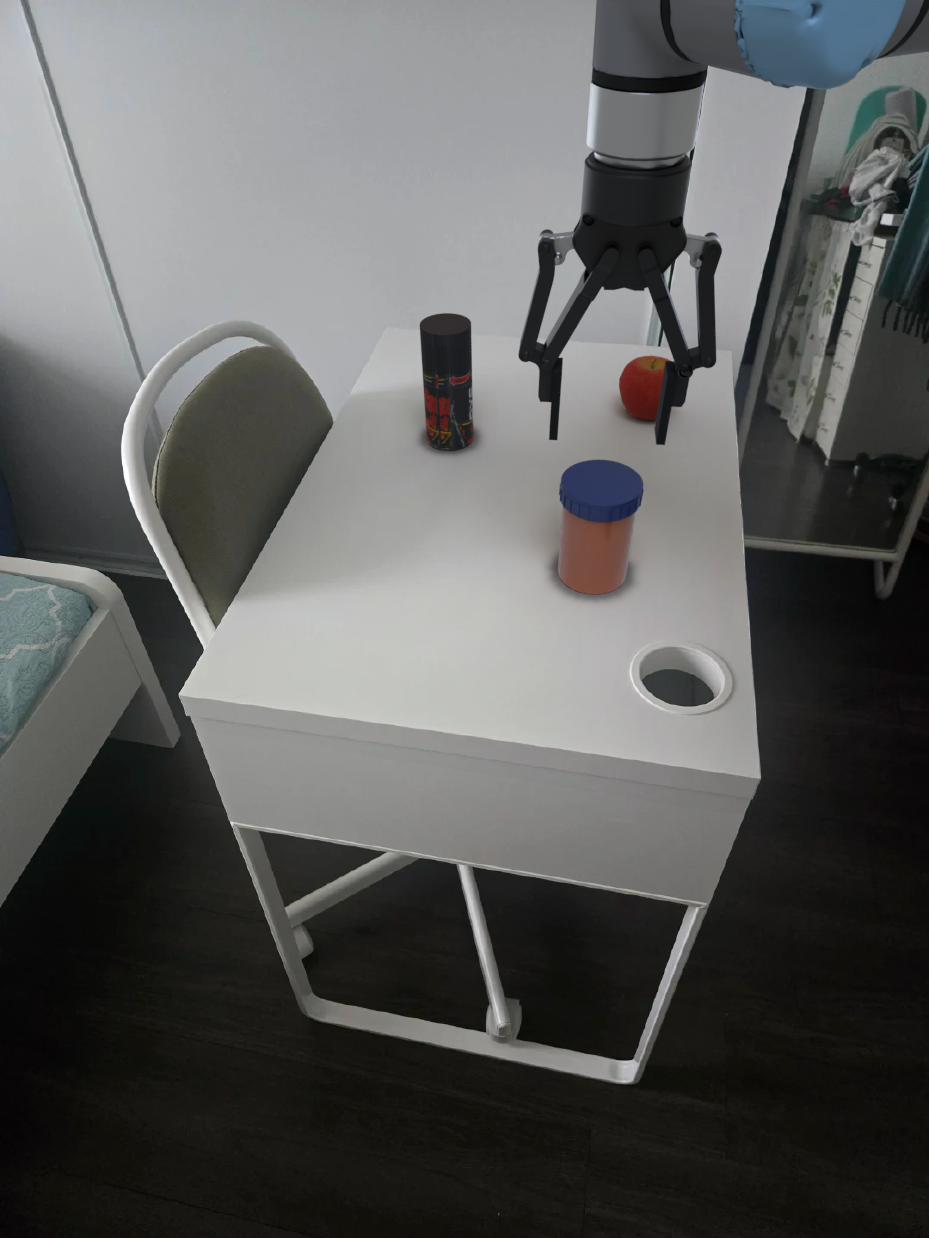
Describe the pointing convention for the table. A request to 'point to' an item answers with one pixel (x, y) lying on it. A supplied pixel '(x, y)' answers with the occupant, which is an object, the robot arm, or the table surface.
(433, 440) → the deodorant
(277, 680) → the table surface
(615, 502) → the jar lid
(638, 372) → the apple
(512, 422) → the table surface
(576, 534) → the jam jar
